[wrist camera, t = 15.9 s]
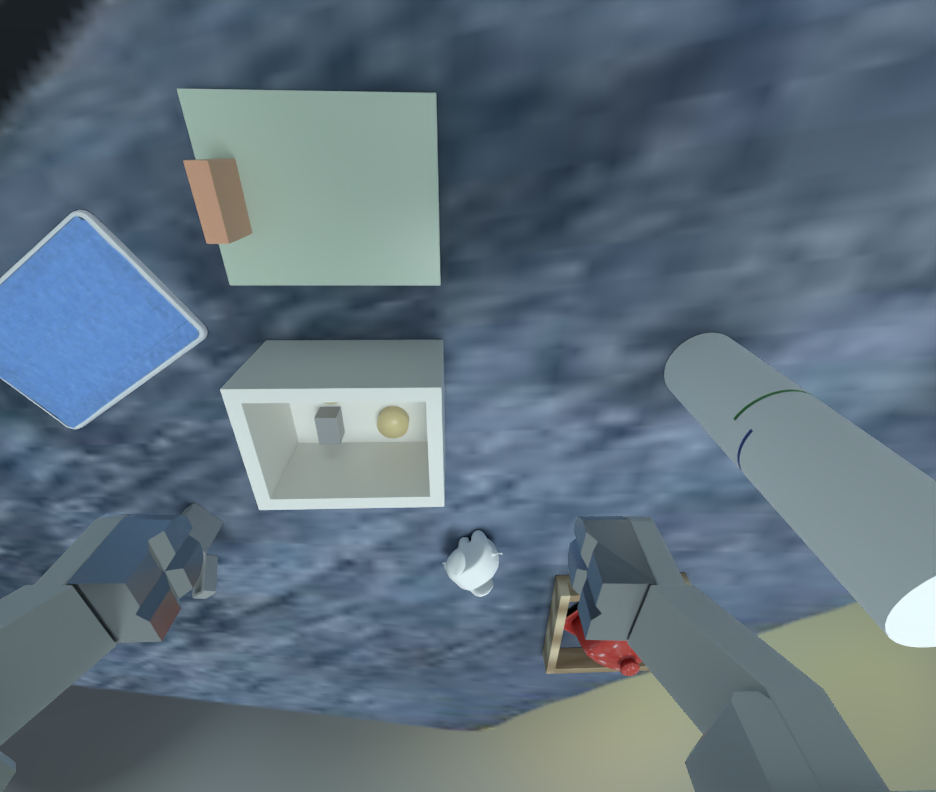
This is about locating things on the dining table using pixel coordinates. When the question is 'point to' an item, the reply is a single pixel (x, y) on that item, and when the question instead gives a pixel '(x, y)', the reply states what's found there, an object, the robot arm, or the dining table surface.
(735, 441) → the cylindrical container
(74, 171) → the dining table surface
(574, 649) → the wooden frame
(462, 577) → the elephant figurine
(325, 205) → the lid
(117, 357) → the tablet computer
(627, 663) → the butter dish
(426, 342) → the parts tub
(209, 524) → the lighter
